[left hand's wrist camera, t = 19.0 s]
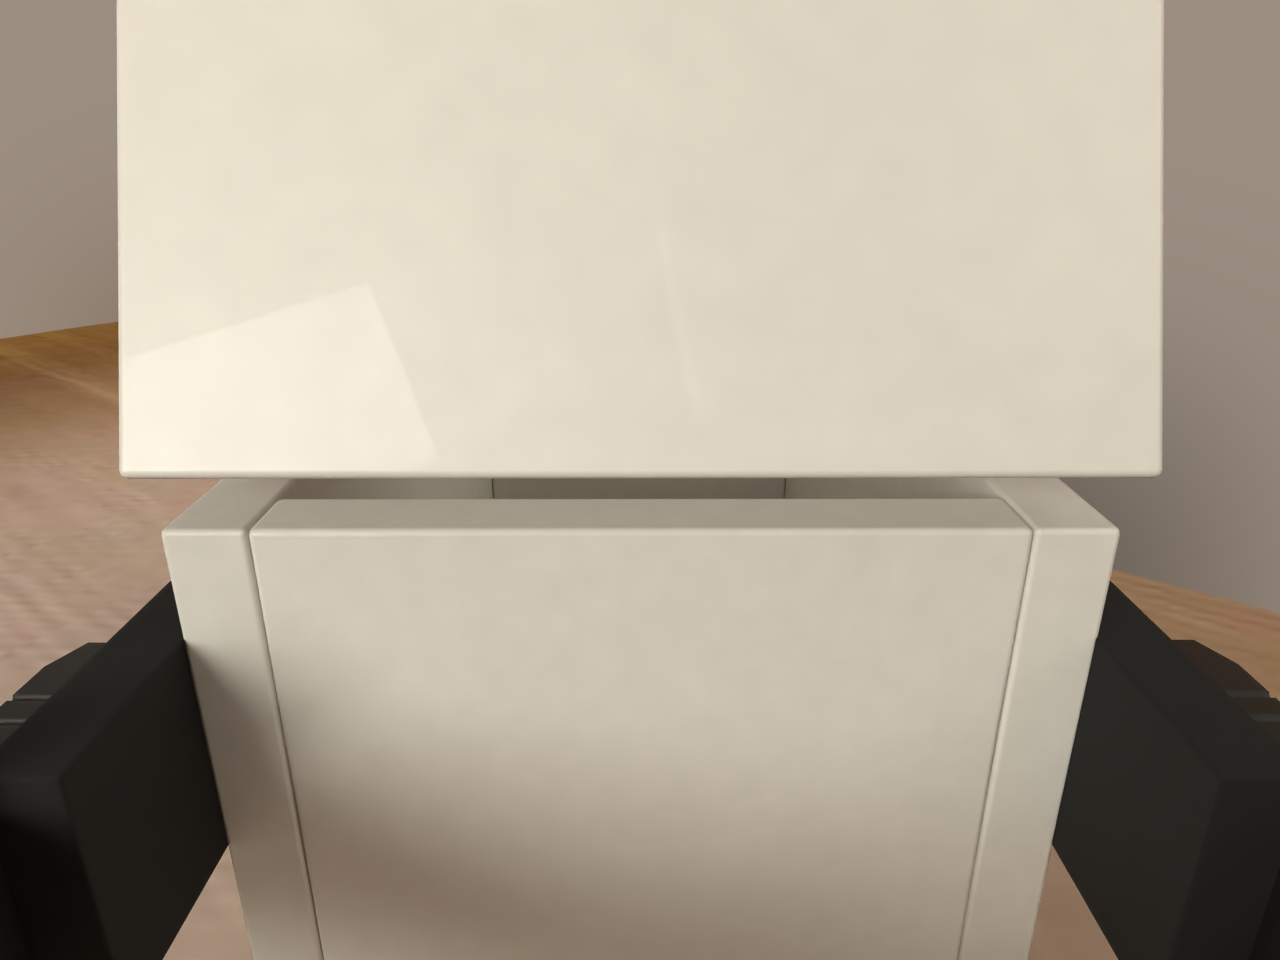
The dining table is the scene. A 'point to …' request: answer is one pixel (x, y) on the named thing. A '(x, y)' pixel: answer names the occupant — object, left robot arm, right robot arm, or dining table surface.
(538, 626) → the chest
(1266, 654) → the dining table surface
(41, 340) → the dining table surface
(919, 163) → the lid
